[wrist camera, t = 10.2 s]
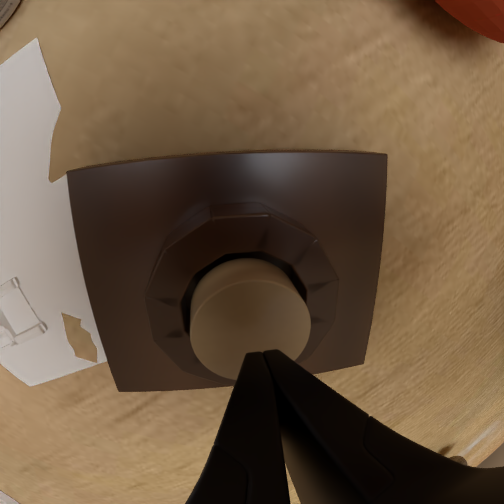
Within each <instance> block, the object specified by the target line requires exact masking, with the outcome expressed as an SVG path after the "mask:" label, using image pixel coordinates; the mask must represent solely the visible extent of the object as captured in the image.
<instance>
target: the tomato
mask: <svg viewBox="0 0 504 504" xmlns="http://www.w3.org/2000/svg"><path fill="white" fill-rule="evenodd" d="M435 1H436V3H438V4H439V5H440V6H441V7H442V8H443V9H444V10H445V11H446V12H448V13H449V14H450V15H452V16H453V17H454V18H456V19H457V20H458V21H460V22H461V23H462V24H464V25H465V26H467V27H468V28H470V29H472V30H473V31H475V32H477V33H479V34H481V35H483V36H485V37H487V38H490V39H492V40H495V41H497V42H501V43H504V0H435Z"/></svg>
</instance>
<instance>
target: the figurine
mask: <svg viewBox="0 0 504 504" xmlns="http://www.w3.org/2000/svg"><path fill="white" fill-rule="evenodd" d="M0 504H19V503H18V502H17V501H15V500H14V499H12V498H11V497H9V496H8V495H6V494H5V493H3V492H2V491H0Z"/></svg>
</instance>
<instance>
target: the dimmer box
mask: <svg viewBox="0 0 504 504" xmlns="http://www.w3.org/2000/svg"><path fill="white" fill-rule="evenodd" d="M66 174H67V183H68V191H69V199H70V207H71V213H72V220H73V226H74V232H75V238H76V243H77V248H78V253H79V258H80V263H81V268H82V272H83V277H84V281H85V285H86V289H87V293H88V297H89V301H90V305H91V309H92V312H93V316H94V320H95V323H96V326H97V330H98V333H99V336H100V340H101V343H102V346H103V349H104V352H105V355H106V358H107V361H108V364H109V367H110V370H111V373H112V375H113V378H114V381H115V384H116V386H117V389H118V391H119V392H146V391H173V390H191V389H204V388H216V387H227V386H234V385H235V383H236V380H233V379H229V378H225V377H222V376H220V375H218V374H216V373H214V372H212V371H211V370H209V369H208V368H206V367H205V366H204V365H203V364H202V363H201V362H200V360H199V359H198V358H197V356H196V355H195V353H194V351H193V348H192V345H191V341H190V310H191V299H192V295H193V293H194V290H195V288H196V286H197V284H198V283H199V281H200V280H201V279H202V278H203V277H204V276H205V275H206V274H207V273H208V272H209V271H210V270H212V269H213V268H214V267H216V266H218V265H220V264H222V263H224V262H227V261H230V260H234V259H240V258H255V259H260V260H264V261H267V262H270V263H272V264H274V265H275V266H277V267H278V268H280V269H281V270H282V271H283V272H284V273H285V274H286V275H287V276H288V277H289V279H290V280H291V282H292V283H293V285H294V286H295V288H296V290H297V291H298V293H299V294H300V296H301V297H302V299H303V301H304V302H305V304H306V306H307V308H308V311H309V314H310V319H311V329H310V335H309V339H308V341H307V344H306V346H305V348H304V349H303V351H302V353H301V354H300V355H299V356H298V358H297V359H296V360H295V362H296V363H297V364H299V365H300V366H301V367H303V368H304V369H306V370H307V371H308V372H310V373H311V374H318V373H323V372H328V371H333V370H338V369H343V368H348V367H352V366H357V365H361V364H364V360H365V355H366V350H367V345H368V340H369V334H370V329H371V323H372V317H373V311H374V305H375V298H376V292H377V285H378V277H379V269H380V261H381V252H382V242H383V231H384V219H385V205H386V187H387V154H383V153H375V152H366V151H349V150H248V151H225V152H209V153H194V154H182V155H171V156H160V157H151V158H142V159H134V160H126V161H118V162H111V163H104V164H97V165H91V166H85V167H81V168H77V169H73V170H70V171H67V172H66Z"/></svg>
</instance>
